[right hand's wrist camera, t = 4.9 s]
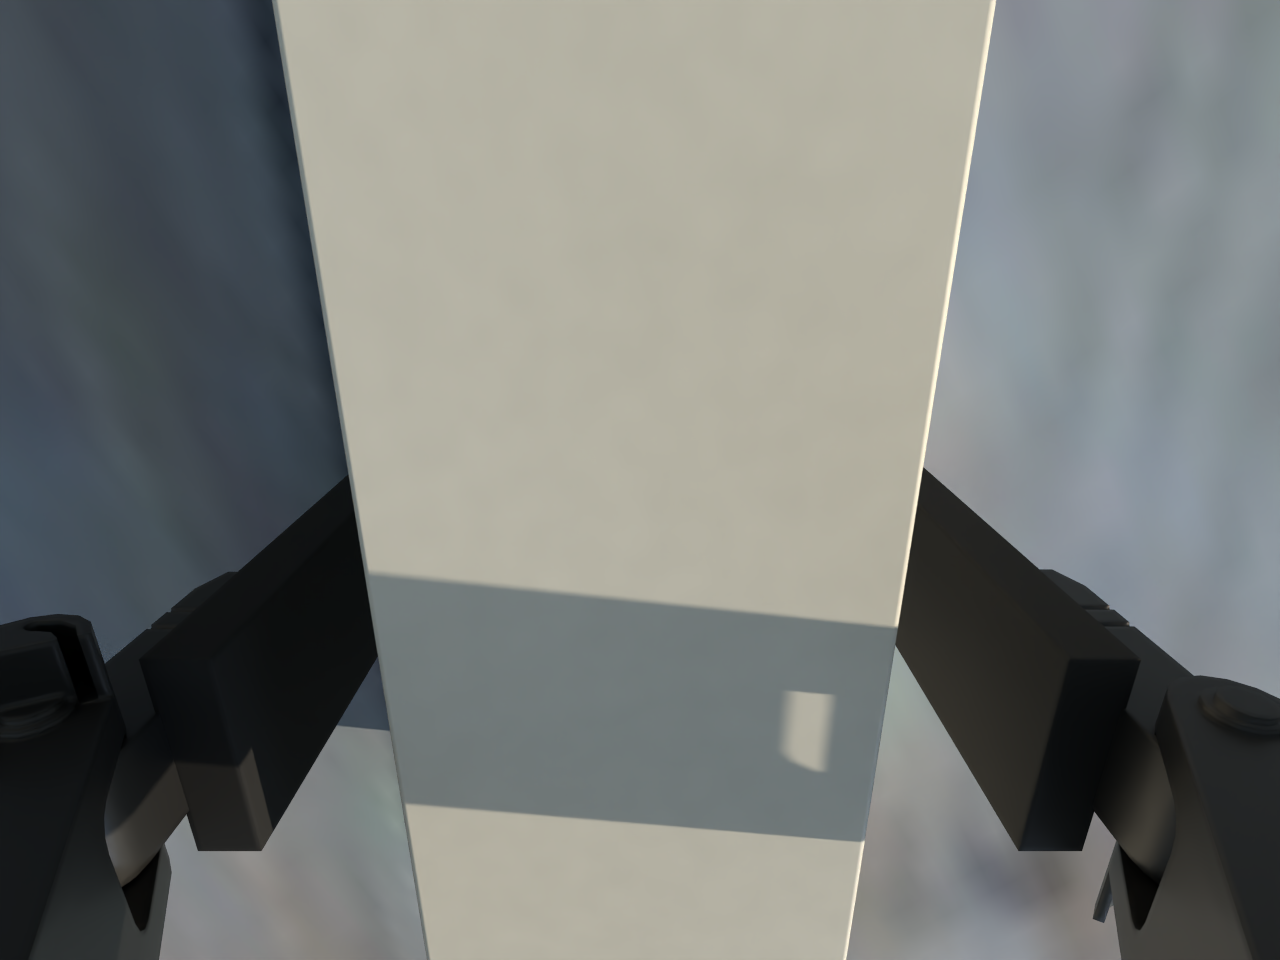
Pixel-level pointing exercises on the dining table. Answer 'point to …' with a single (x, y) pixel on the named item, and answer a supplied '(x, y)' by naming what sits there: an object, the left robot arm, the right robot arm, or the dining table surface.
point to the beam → (635, 437)
